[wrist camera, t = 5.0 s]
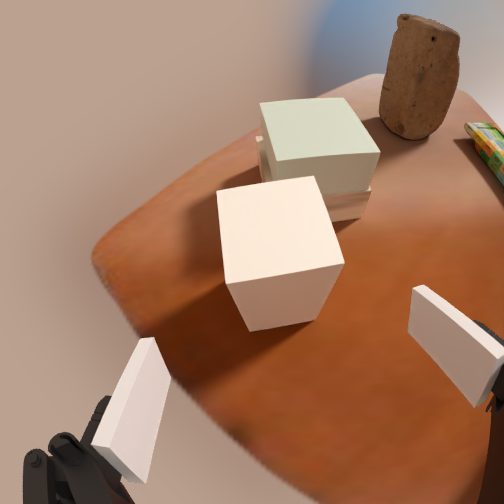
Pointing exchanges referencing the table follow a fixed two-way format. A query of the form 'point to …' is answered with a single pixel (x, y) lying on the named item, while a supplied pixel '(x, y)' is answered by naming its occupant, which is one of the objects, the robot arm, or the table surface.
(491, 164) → the puzzle game
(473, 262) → the table surface
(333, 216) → the tower base
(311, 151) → the tower top
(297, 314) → the cream block
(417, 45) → the block
